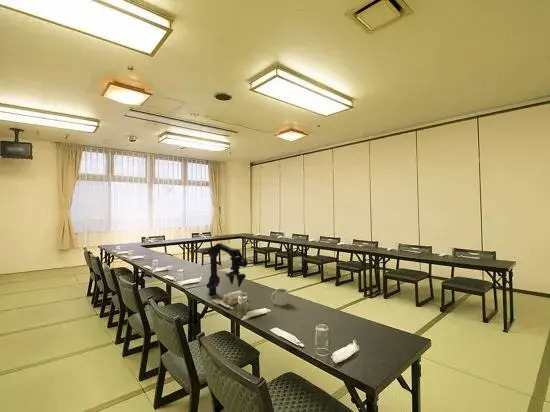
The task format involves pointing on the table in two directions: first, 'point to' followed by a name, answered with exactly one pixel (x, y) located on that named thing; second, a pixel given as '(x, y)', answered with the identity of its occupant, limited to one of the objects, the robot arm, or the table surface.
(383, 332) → the table surface
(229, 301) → the holder
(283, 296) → the mug
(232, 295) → the roll
